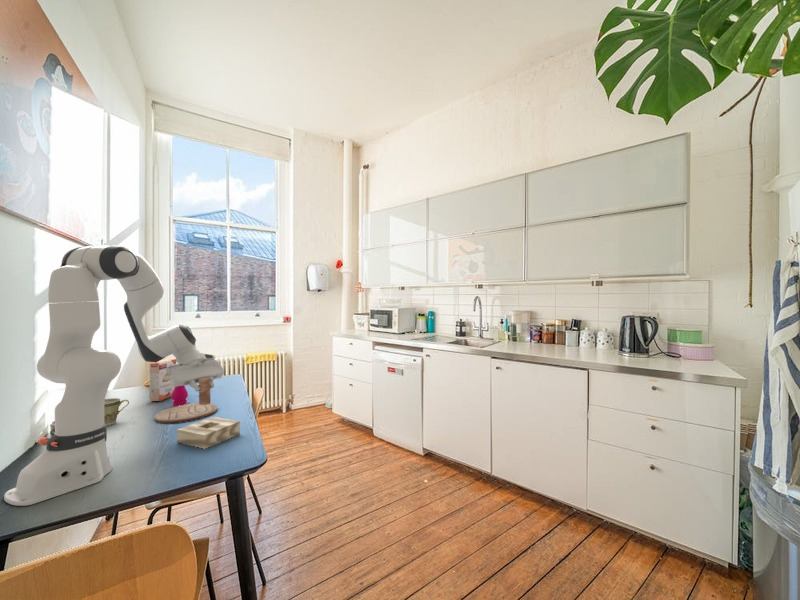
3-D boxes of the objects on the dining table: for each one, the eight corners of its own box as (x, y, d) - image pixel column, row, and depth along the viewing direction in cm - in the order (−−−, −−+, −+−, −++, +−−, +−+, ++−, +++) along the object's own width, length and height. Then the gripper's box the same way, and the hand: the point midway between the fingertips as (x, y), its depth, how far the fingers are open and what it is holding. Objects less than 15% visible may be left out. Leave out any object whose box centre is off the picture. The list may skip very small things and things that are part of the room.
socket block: (204, 449, 123) (204, 435, 123) (177, 442, 129) (177, 429, 129) (239, 434, 136) (239, 421, 136) (213, 428, 142) (213, 416, 142)
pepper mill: (168, 405, 177) (167, 366, 177) (183, 401, 183) (182, 364, 183) (176, 407, 174) (176, 367, 174) (191, 403, 180) (190, 365, 180)
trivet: (156, 428, 145) (156, 424, 145) (153, 414, 164) (152, 410, 164) (222, 415, 161) (222, 411, 161) (211, 403, 180) (211, 399, 180)
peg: (203, 405, 136) (203, 379, 136) (196, 404, 137) (196, 379, 138) (212, 402, 139) (212, 377, 140) (205, 401, 141) (205, 377, 141)
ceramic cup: (90, 430, 144) (90, 406, 144) (90, 424, 151) (90, 401, 151) (130, 422, 152) (129, 399, 152) (128, 417, 160) (128, 395, 160)
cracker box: (160, 402, 183) (159, 362, 183) (148, 402, 183) (148, 362, 183) (177, 394, 197) (176, 358, 197) (167, 395, 197) (166, 358, 197)
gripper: (167, 361, 133) (182, 389, 128) (217, 354, 151) (232, 379, 146) (161, 372, 135) (175, 400, 130) (211, 364, 153) (225, 388, 148)
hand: (205, 388), depth 138 cm, fingers closed on peg, 4 cm apart
